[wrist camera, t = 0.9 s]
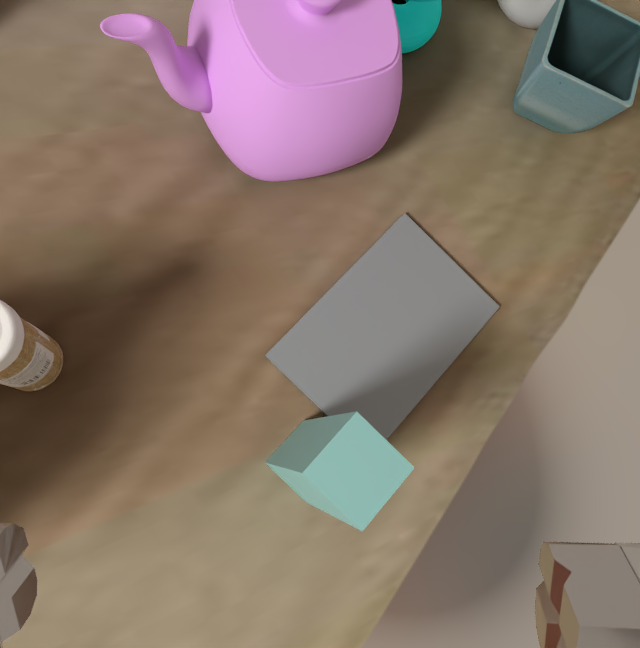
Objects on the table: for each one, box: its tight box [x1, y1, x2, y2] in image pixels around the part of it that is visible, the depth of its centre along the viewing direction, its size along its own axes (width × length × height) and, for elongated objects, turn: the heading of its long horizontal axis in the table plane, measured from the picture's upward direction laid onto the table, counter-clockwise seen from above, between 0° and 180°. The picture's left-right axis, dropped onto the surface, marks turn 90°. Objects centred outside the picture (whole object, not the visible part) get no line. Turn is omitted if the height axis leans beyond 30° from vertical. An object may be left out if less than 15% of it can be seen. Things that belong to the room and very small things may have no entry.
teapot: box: [100, 0, 402, 182], centre depth 46 cm, size 23×21×15 cm
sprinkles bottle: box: [0, 300, 63, 391], centre depth 39 cm, size 5×5×14 cm
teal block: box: [265, 411, 415, 531], centre depth 40 cm, size 4×4×16 cm
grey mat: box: [265, 213, 500, 440], centre depth 51 cm, size 18×12×1 cm, turn 137°
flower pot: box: [513, 0, 640, 133], centre depth 55 cm, size 9×9×9 cm
